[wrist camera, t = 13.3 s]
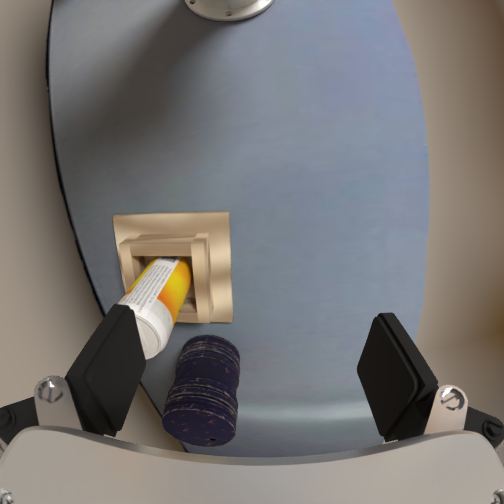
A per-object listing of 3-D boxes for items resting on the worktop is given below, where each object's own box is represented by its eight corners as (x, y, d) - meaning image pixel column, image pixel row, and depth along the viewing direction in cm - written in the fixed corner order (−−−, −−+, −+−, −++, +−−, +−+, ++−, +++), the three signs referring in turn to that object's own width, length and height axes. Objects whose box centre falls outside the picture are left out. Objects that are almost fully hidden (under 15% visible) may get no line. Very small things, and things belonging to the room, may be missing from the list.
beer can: (154, 288, 38) (112, 357, 24) (150, 248, 36) (97, 306, 22) (195, 291, 38) (168, 366, 24) (193, 250, 36) (159, 314, 22)
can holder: (115, 214, 35) (98, 224, 30) (229, 211, 35) (225, 221, 30) (133, 314, 41) (121, 332, 36) (233, 318, 41) (230, 339, 36)
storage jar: (169, 349, 43) (145, 418, 29) (213, 323, 41) (198, 399, 27) (208, 383, 46) (197, 452, 32) (252, 362, 44) (252, 436, 30)
